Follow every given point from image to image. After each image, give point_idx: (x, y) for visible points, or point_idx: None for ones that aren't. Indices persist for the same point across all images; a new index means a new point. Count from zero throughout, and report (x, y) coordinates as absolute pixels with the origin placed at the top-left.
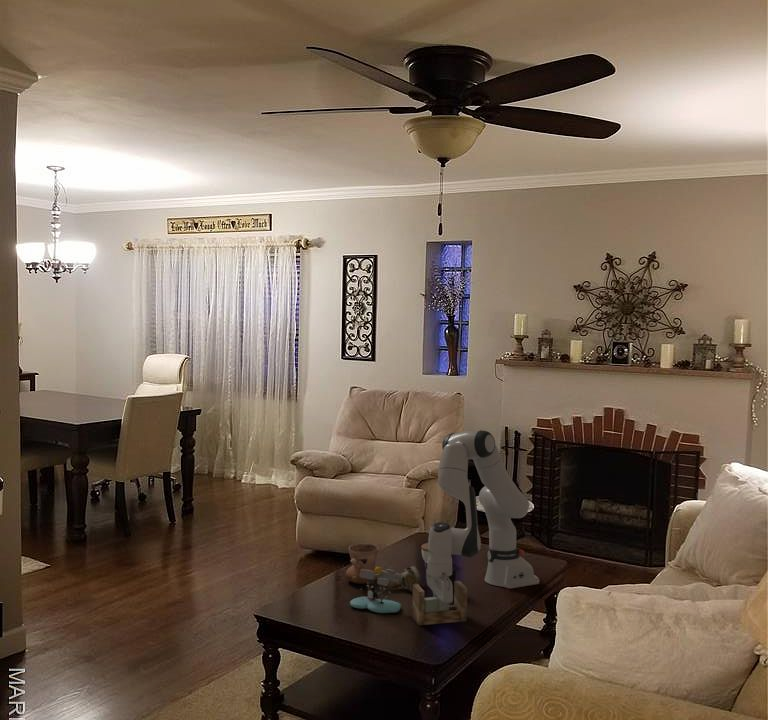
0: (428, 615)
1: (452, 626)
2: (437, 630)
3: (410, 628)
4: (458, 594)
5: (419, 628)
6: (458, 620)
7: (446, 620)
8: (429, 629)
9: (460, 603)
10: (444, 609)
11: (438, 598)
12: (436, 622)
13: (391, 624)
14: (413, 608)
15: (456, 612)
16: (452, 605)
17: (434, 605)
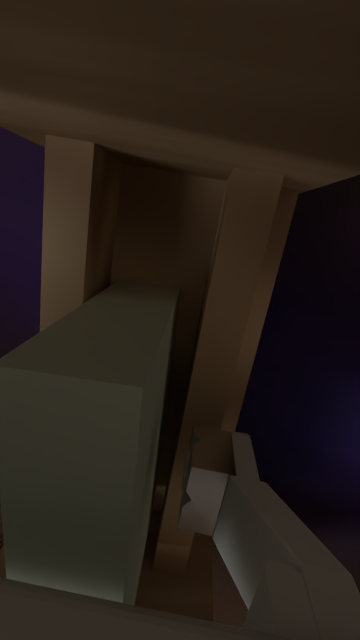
0: None
1: (347, 335)
2: (349, 474)
3: (226, 589)
4: (146, 23)
5: None
6: (287, 229)
7: (251, 351)
8: (301, 509)
9: (325, 149)
10: (166, 368)
11: (104, 581)
12: (231, 430)
13: None
14: None
15: (264, 238)
16: (44, 179)
17: (142, 530)
